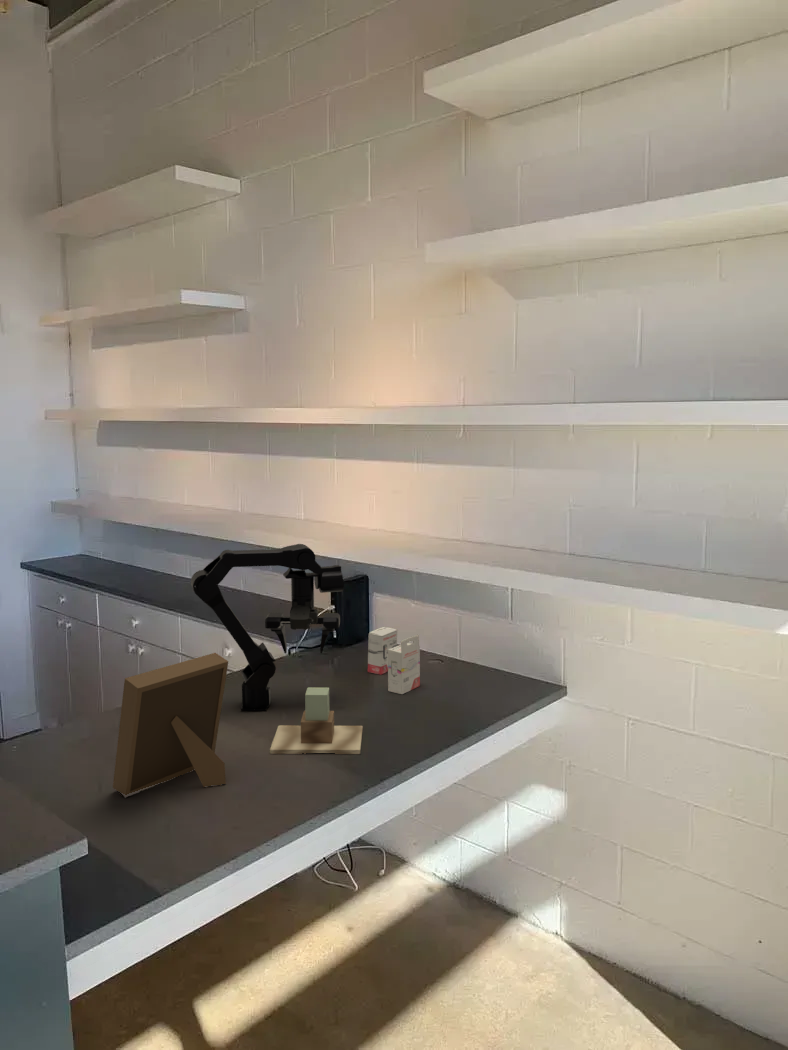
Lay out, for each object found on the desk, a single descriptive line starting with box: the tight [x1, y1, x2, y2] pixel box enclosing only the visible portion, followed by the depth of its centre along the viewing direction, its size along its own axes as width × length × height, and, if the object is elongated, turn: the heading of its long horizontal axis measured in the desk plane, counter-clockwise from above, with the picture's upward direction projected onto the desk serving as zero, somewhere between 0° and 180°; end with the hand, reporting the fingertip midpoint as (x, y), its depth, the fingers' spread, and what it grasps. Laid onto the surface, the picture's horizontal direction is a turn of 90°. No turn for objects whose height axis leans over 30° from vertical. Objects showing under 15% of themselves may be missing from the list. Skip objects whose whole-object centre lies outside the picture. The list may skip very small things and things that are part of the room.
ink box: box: [367, 626, 398, 676], centre depth 246 cm, size 9×5×12 cm, turn 147°
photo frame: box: [112, 652, 229, 795], centre depth 171 cm, size 15×22×25 cm
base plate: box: [269, 710, 364, 755], centre depth 195 cm, size 20×14×6 cm
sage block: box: [304, 686, 330, 721], centre depth 194 cm, size 5×5×6 cm
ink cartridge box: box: [387, 634, 421, 695], centre depth 229 cm, size 9×5×15 cm, turn 143°
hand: (303, 653), depth 219 cm, fingers open, 9 cm apart
